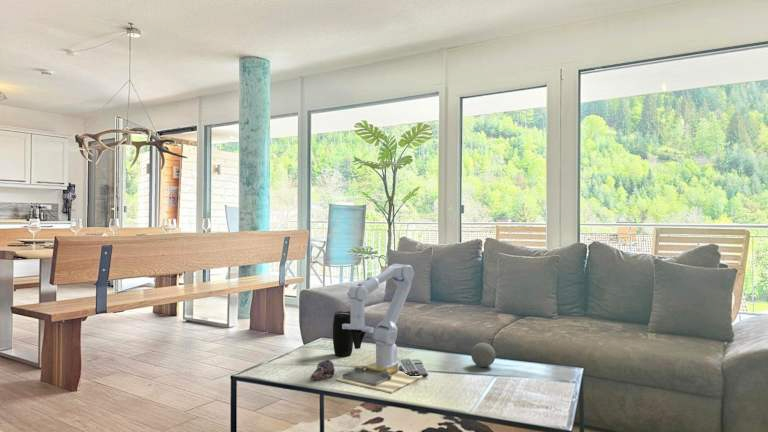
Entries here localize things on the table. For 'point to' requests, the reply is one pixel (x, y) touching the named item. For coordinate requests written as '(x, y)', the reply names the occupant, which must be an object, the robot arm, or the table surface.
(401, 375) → the board
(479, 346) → the decorative ball
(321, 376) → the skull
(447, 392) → the table surface
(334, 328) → the portable speaker
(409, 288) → the robot arm
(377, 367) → the loose leaf
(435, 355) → the table surface
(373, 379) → the fixed leaf
